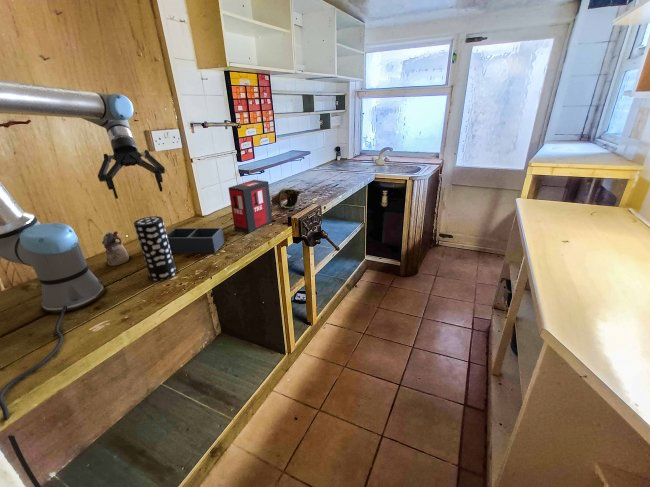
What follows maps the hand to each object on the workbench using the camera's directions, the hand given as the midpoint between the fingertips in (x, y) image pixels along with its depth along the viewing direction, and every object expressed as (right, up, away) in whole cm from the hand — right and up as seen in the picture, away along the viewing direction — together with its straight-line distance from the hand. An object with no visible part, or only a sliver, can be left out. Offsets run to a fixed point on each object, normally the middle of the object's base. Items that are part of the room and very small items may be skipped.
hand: (139, 192), depth 106 cm
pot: (+42, +4, +71) cm, 82 cm away
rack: (+10, -19, +23) cm, 31 cm away
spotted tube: (+7, -28, +3) cm, 29 cm away
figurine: (-16, -24, +13) cm, 32 cm away
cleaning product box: (+29, -9, +44) cm, 54 cm away
